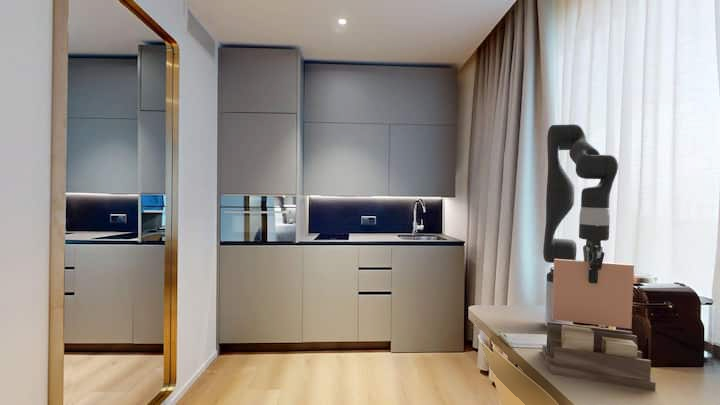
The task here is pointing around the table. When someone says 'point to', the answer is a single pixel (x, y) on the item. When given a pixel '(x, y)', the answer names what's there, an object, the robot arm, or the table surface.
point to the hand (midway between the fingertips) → (591, 282)
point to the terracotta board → (593, 293)
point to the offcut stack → (585, 340)
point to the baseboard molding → (524, 340)
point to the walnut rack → (597, 359)
